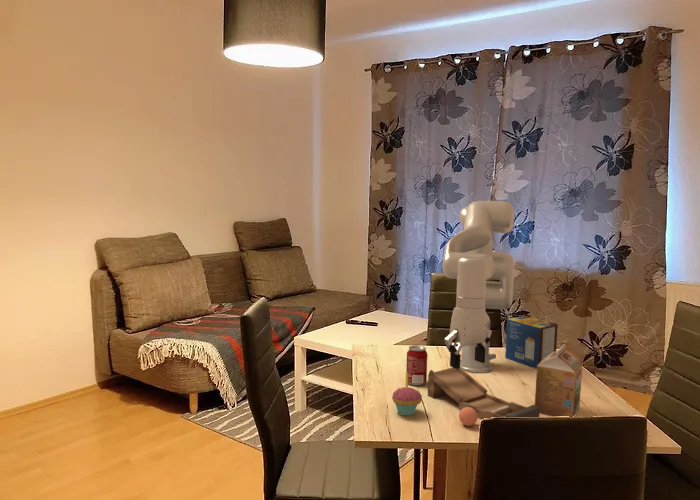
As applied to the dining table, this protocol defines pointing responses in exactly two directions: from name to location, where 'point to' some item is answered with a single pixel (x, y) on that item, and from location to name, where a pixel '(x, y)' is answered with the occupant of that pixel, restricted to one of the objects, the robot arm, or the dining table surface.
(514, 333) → the protein box
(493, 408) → the lane
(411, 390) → the cupcake
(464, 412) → the ball
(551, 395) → the milk carton
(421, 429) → the dining table surface
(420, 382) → the soda can
